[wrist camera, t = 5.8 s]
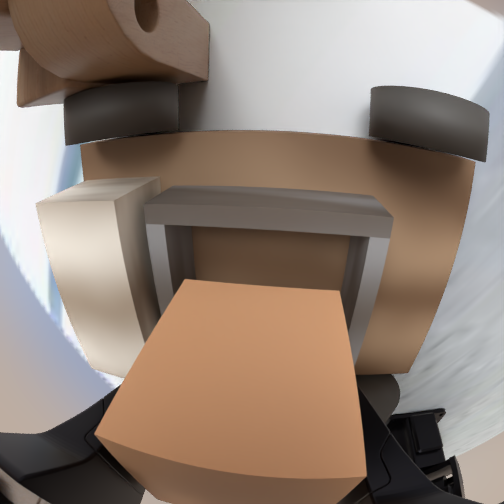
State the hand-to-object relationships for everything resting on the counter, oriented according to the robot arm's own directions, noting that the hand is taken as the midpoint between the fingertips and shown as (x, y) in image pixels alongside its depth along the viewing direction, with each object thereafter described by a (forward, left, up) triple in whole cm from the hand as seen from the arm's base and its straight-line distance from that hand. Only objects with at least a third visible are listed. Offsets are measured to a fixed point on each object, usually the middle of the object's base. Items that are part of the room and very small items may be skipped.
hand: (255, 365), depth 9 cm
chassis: (0, 0, -7) cm, 7 cm away
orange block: (0, 0, -1) cm, 1 cm away
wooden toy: (+17, +6, -8) cm, 20 cm away
